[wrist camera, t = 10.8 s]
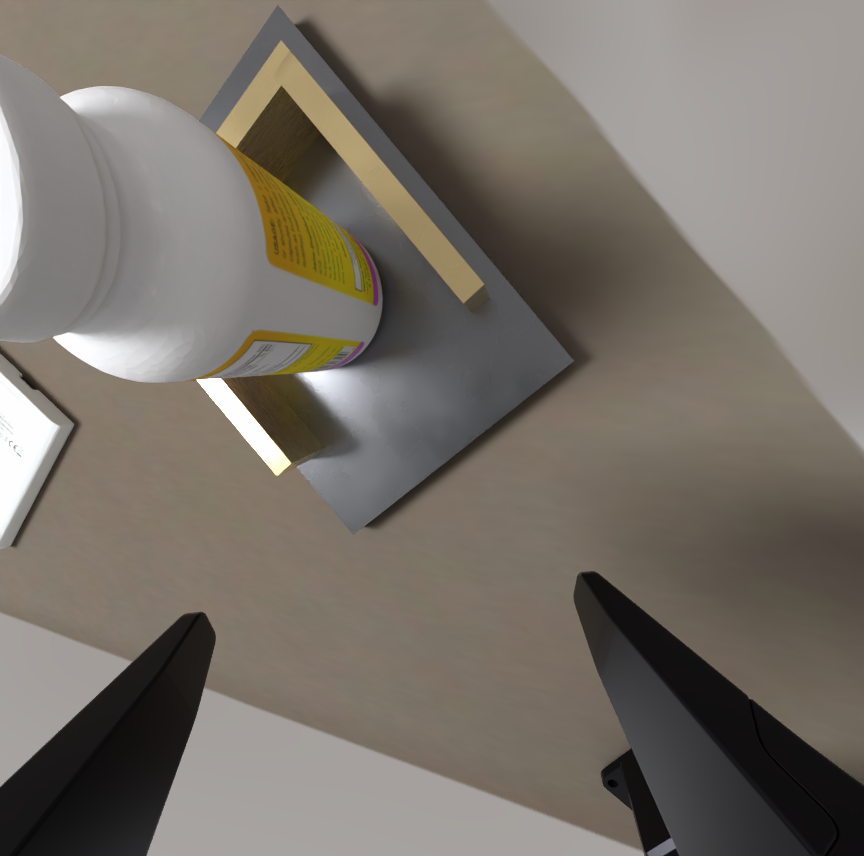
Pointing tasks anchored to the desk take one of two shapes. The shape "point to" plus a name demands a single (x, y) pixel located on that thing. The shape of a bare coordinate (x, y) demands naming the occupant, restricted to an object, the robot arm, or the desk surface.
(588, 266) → the desk surface
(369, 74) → the desk surface
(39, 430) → the external hard drive
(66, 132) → the supplement bottle
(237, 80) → the wooden walled tray
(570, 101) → the desk surface
